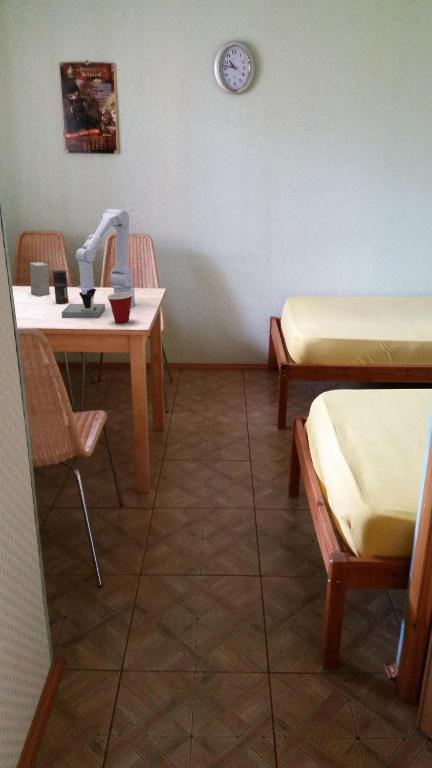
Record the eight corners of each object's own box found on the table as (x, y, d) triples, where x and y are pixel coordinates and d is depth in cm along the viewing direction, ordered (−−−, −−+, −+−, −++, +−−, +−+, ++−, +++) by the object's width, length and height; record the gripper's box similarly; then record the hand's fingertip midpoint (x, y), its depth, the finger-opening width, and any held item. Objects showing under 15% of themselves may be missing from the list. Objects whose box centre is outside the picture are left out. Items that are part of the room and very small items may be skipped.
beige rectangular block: (94, 314, 277) (93, 296, 274) (92, 316, 273) (91, 298, 270) (85, 314, 277) (84, 296, 274) (83, 316, 273) (82, 298, 270)
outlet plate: (105, 309, 285) (104, 303, 284) (98, 317, 270) (98, 312, 269) (70, 309, 285) (70, 303, 285) (62, 317, 270) (61, 312, 270)
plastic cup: (109, 319, 268) (107, 291, 264) (134, 318, 269) (133, 291, 265) (107, 325, 258) (105, 297, 254) (133, 325, 259) (131, 297, 255)
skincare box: (30, 294, 315) (27, 263, 310) (43, 292, 320) (40, 261, 314) (38, 296, 309) (35, 265, 304) (51, 294, 314) (48, 263, 308)
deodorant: (65, 304, 294) (62, 272, 289) (53, 303, 295) (50, 272, 290) (70, 301, 300) (67, 270, 295) (59, 301, 301) (56, 270, 296)
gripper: (81, 273, 276) (83, 303, 281) (73, 279, 262) (76, 310, 267) (96, 273, 276) (98, 303, 280) (90, 279, 262) (92, 310, 267)
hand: (88, 306), depth 274 cm, fingers open, 5 cm apart
